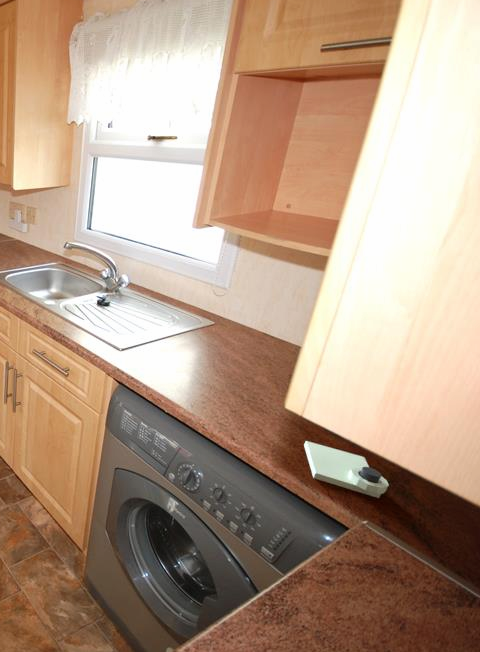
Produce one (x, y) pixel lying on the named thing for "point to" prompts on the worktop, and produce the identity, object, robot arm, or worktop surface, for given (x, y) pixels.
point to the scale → (341, 469)
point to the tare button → (370, 474)
